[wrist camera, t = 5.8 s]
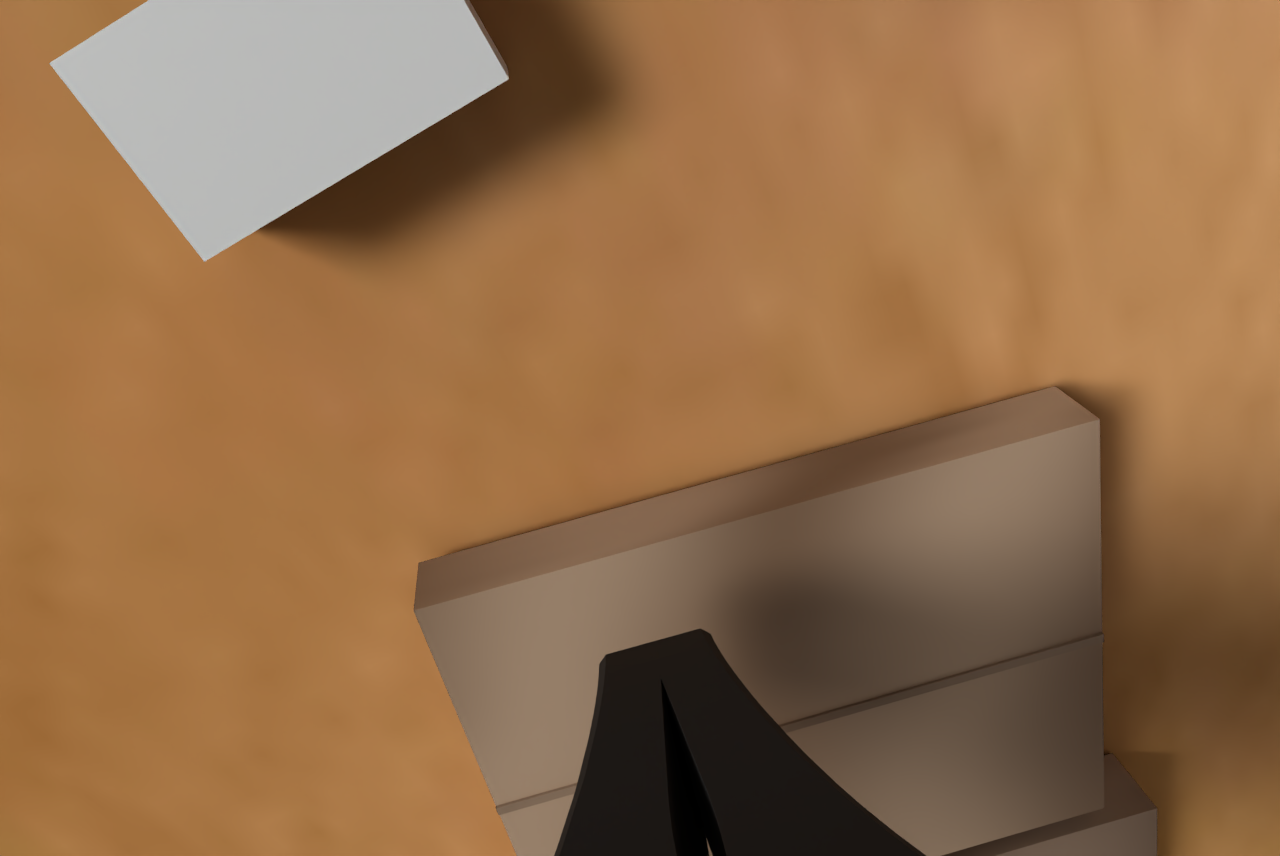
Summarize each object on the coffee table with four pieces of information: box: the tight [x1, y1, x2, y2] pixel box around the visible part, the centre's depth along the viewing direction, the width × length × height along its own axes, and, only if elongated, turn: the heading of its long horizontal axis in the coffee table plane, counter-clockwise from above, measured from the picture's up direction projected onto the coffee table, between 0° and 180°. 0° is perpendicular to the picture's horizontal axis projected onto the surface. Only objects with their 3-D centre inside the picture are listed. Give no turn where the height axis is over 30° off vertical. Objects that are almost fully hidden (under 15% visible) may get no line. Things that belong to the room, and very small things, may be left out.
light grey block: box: [49, 0, 509, 262], centre depth 11 cm, size 4×2×2 cm, turn 118°
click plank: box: [414, 386, 1104, 856], centre depth 16 cm, size 10×8×1 cm
